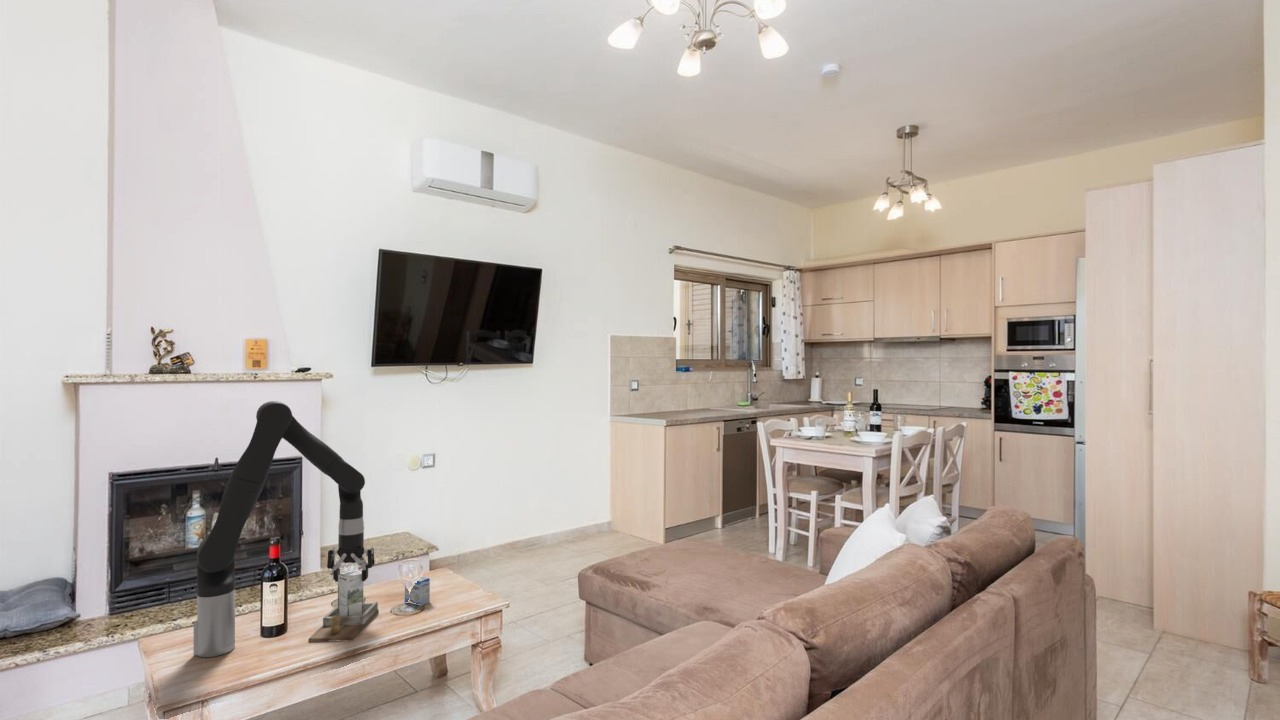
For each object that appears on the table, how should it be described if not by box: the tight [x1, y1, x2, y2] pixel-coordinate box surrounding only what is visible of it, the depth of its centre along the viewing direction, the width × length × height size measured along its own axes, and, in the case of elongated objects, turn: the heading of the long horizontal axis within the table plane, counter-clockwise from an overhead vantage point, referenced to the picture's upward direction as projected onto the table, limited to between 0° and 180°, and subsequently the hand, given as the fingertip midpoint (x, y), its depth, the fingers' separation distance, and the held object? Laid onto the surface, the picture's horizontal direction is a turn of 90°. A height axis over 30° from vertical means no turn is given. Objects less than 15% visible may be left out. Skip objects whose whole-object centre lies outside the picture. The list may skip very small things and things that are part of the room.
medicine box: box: [404, 576, 431, 606], centre depth 221 cm, size 8×4×9 cm, turn 62°
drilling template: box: [308, 601, 380, 643], centre depth 201 cm, size 13×22×6 cm, turn 3°
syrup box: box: [337, 569, 364, 616], centre depth 205 cm, size 6×6×14 cm
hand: (350, 580), depth 205 cm, fingers open, 8 cm apart
